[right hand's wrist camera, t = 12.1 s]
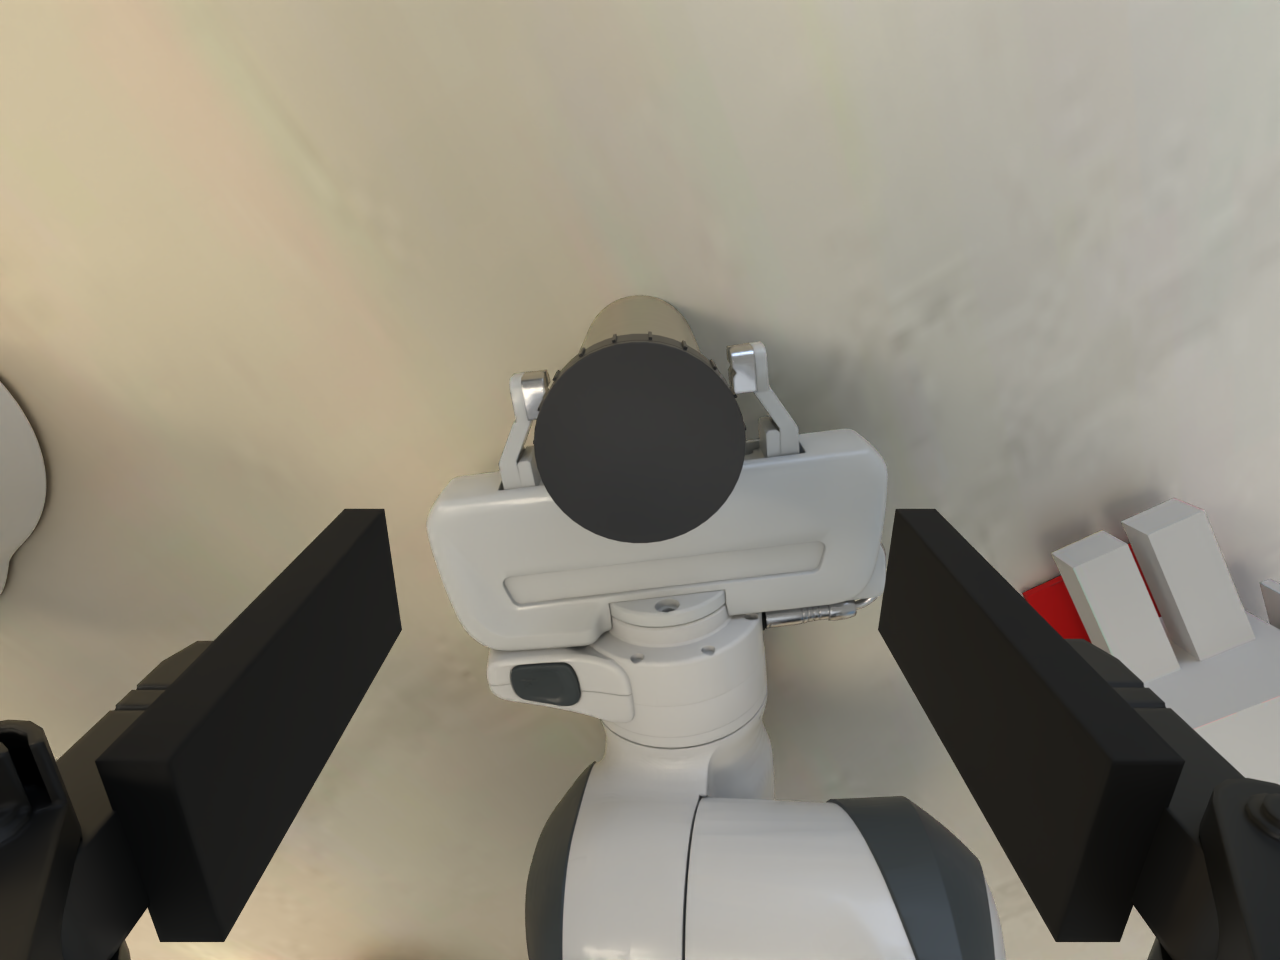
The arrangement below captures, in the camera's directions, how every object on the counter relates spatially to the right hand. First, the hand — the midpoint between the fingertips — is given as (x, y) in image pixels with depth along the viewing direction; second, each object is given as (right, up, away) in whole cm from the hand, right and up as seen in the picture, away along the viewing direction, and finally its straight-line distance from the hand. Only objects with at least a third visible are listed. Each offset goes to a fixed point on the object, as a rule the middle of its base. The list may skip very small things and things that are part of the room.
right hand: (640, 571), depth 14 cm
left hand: (0, +7, +15) cm, 17 cm away
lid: (0, +3, +7) cm, 8 cm away
